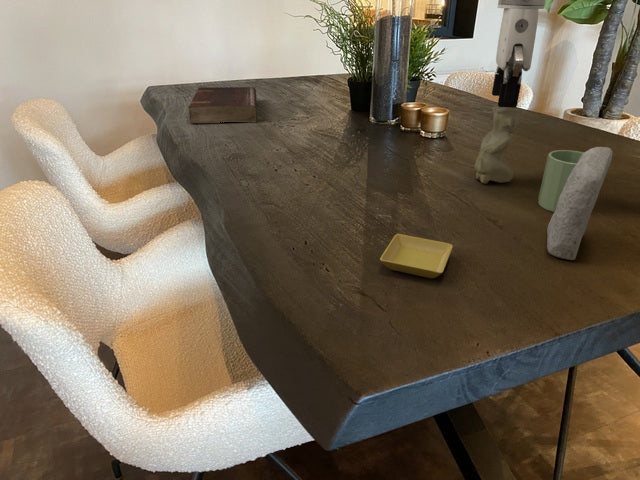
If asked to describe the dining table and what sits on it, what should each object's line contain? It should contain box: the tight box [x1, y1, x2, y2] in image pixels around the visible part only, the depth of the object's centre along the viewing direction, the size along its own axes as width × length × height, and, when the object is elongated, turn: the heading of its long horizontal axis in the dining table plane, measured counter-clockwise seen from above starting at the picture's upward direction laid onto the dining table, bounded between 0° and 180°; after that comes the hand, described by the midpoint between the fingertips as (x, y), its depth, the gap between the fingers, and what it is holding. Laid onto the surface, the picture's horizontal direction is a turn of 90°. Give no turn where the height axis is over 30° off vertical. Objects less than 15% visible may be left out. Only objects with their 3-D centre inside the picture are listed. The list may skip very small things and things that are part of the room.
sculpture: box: [474, 104, 524, 185], centre depth 95 cm, size 6×7×15 cm
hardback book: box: [188, 86, 258, 124], centre depth 151 cm, size 29×19×5 cm, turn 7°
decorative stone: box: [546, 146, 614, 261], centre depth 71 cm, size 11×6×15 cm, turn 150°
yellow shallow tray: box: [379, 233, 454, 279], centre depth 69 cm, size 9×9×2 cm
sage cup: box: [537, 149, 585, 213], centre depth 86 cm, size 8×8×9 cm
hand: (503, 101), depth 91 cm, fingers open, 9 cm apart
